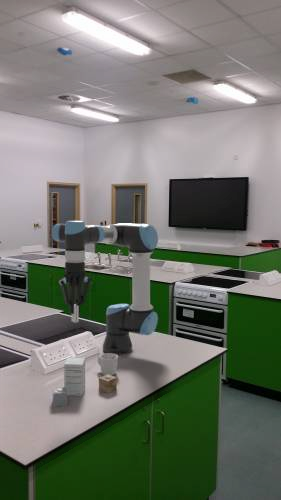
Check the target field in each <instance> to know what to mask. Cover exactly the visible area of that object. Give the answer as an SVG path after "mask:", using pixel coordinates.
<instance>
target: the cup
mask: <svg viewBox="0 0 281 500" xmlns="http://www.w3.org/2000/svg"><path fill="white" fill-rule="evenodd" d="M118 360H119V354H113V353H106V352H105V353H102V354H100V355H99V356H98V357H97V363H98V365H99V366H100V372H101V374H102V376H104V375H107V374H109V375H111V376H115V375H116V374H117V369H118Z"/></svg>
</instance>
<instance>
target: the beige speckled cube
mask: <svg viewBox="0 0 281 500" xmlns="http://www.w3.org/2000/svg"><path fill="white" fill-rule="evenodd" d="M117 380H118V378H117V377H116V376H115V375H112V376H111V375H109V374H107V375H102V376H100V377H98V390H99V391H101V392H104V393H106V394H110V393H112V392H113V391H116V390H117V383H118V382H117Z"/></svg>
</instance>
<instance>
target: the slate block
mask: <svg viewBox="0 0 281 500" xmlns="http://www.w3.org/2000/svg"><path fill="white" fill-rule="evenodd" d="M52 406H53V408H54V407H55V408H56V407H65V406H66V407H67V406H68V395H67V389H66V387H64V386H63V387H53V388H52Z"/></svg>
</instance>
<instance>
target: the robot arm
mask: <svg viewBox="0 0 281 500" xmlns="http://www.w3.org/2000/svg"><path fill="white" fill-rule="evenodd" d="M51 238H52V239H53V241H55V242H59V243H64V244H65V245H64V246H65V248H64V260H65V262H64V271H65V272H64V273H65V274H64V275H63V277H62V279H59V280H58V283H59V285H60V288H61V294H62V297H63V301H64V303H65V304H66V305H68V306H69V309H68V310H69V314H70V315H71V319H70V320H71V322H72V323H74V324H75V323H80V322H79V314H80V313H81V306H82V304H83V303H86V299H87V293H88V291H89V285H90V284H91V281H92V278H91V277H87V276H86V275H87V274H86V273H85V272H86V262H85V260H86V254H85V253H86V245H97V244H99V243H104V244H106V245H112V246H118V247H122V248H128V252H129V254H130V255H131V256H132V257H131V262H132V263H131V264H132V265H131V268H132V269H131V271H132V273H131V278H132V280H131V281H132V288H131V289H132V290H131V292H132V293H131V294H132V296H131V297H132V298H131V299H132V304H131V305H130V304H128V303H117V304H111V305H109V306H108V307H107V308H106V312H105V313H106V314H105V317H106V318H105V321H106V322H105V324H106V326H105V327H106V328H105V329H106V330H105V331H106V332H105V337H104V341H103V344H102V351H103V352H104V353H105V354H106V353H113V354H116V355H124V354H128V353H131V352H132V351H133V344H132V340H131V336H130V333H132V334H137V335H141V336H142V335H143V336H151V334H153V333H154V332H155V330H156V328H157V325H158V320H159V317H158V313H157V312H155V311H154V306H153V305H152V304H151V255H152V254H153V253H154V249H156V248H157V246H158V244H159V236H158V232H157V229H156V228H155V226H153V225H151V224H147V223H129V222H128V223H127V222H126V223H125V222H124V223H123V222H122V223H115V224H113V223H112V224H111V223H110V224H105V225H98V224H90V225H89V224H86V222H85V221H83V220H67V221H65V223H56V224H54V225H53V227H52V228H51ZM82 283H83V284H82ZM67 284H68V288H67Z"/></svg>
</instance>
